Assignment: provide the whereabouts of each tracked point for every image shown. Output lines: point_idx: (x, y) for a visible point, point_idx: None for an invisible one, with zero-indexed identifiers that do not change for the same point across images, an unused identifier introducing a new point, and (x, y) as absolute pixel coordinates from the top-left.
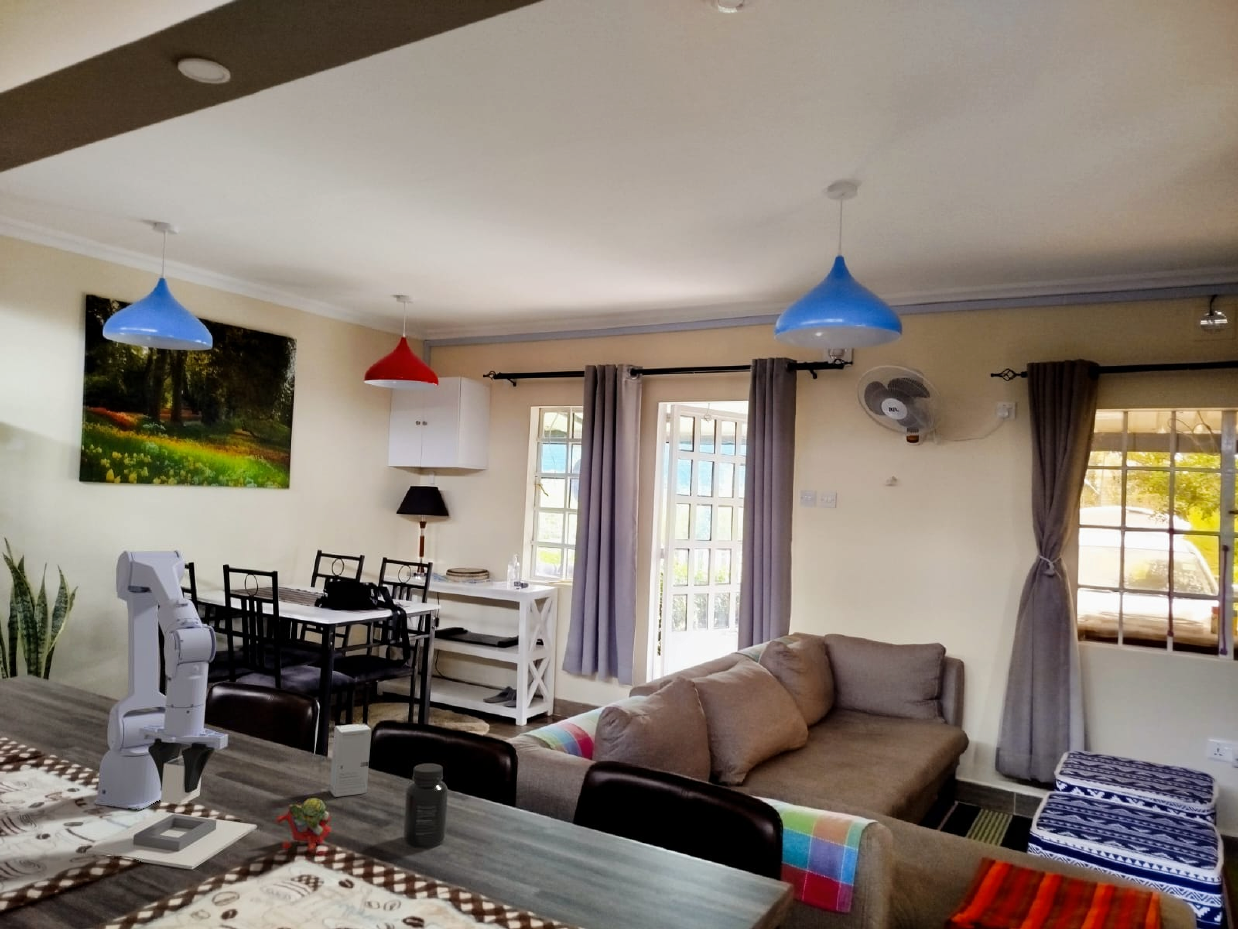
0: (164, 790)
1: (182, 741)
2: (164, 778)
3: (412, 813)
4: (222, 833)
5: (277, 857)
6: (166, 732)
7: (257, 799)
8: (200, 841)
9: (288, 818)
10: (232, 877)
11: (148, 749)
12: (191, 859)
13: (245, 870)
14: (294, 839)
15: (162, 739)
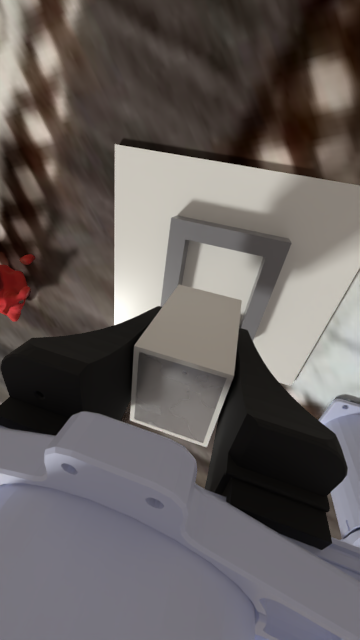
0: (229, 313)
1: (40, 434)
2: (230, 335)
3: None
4: (144, 301)
5: (26, 228)
6: (169, 582)
7: None
8: (162, 266)
9: (10, 292)
10: (33, 125)
11: (339, 447)
12: (134, 179)
13: (34, 164)
14: (19, 271)
15: (168, 466)
